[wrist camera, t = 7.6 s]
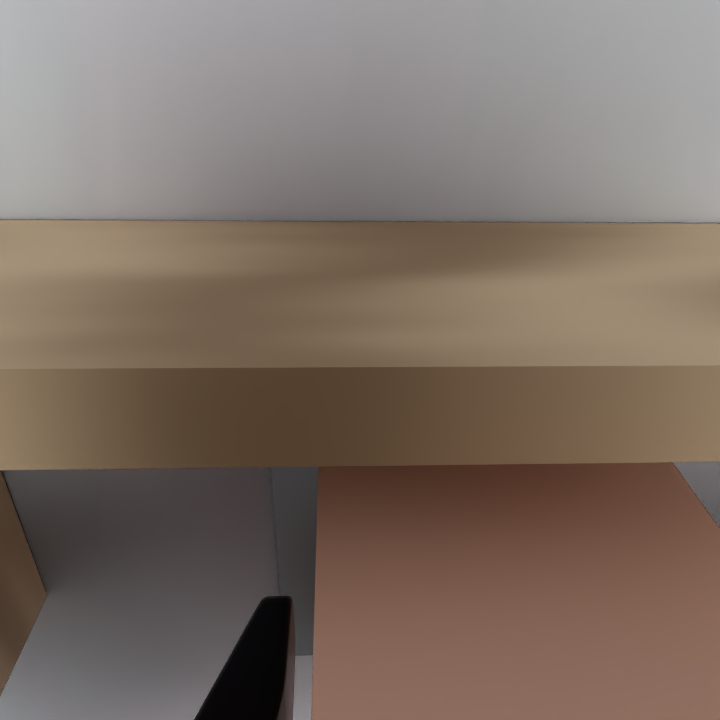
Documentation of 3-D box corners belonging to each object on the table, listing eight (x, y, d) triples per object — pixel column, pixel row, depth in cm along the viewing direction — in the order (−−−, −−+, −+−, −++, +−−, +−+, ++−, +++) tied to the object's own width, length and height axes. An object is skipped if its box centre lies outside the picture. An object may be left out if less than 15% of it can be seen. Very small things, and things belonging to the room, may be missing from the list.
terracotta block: (532, 624, 12) (681, 1101, 7) (325, 629, 12) (321, 1122, 7) (599, 360, 9) (964, 869, 4) (321, 362, 9) (304, 896, 4)
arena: (741, 223, 8) (986, 363, 5) (595, 643, 13) (678, 849, 10) (-177, 218, 8) (-514, 372, 5) (17, 657, 12) (-87, 879, 9)
